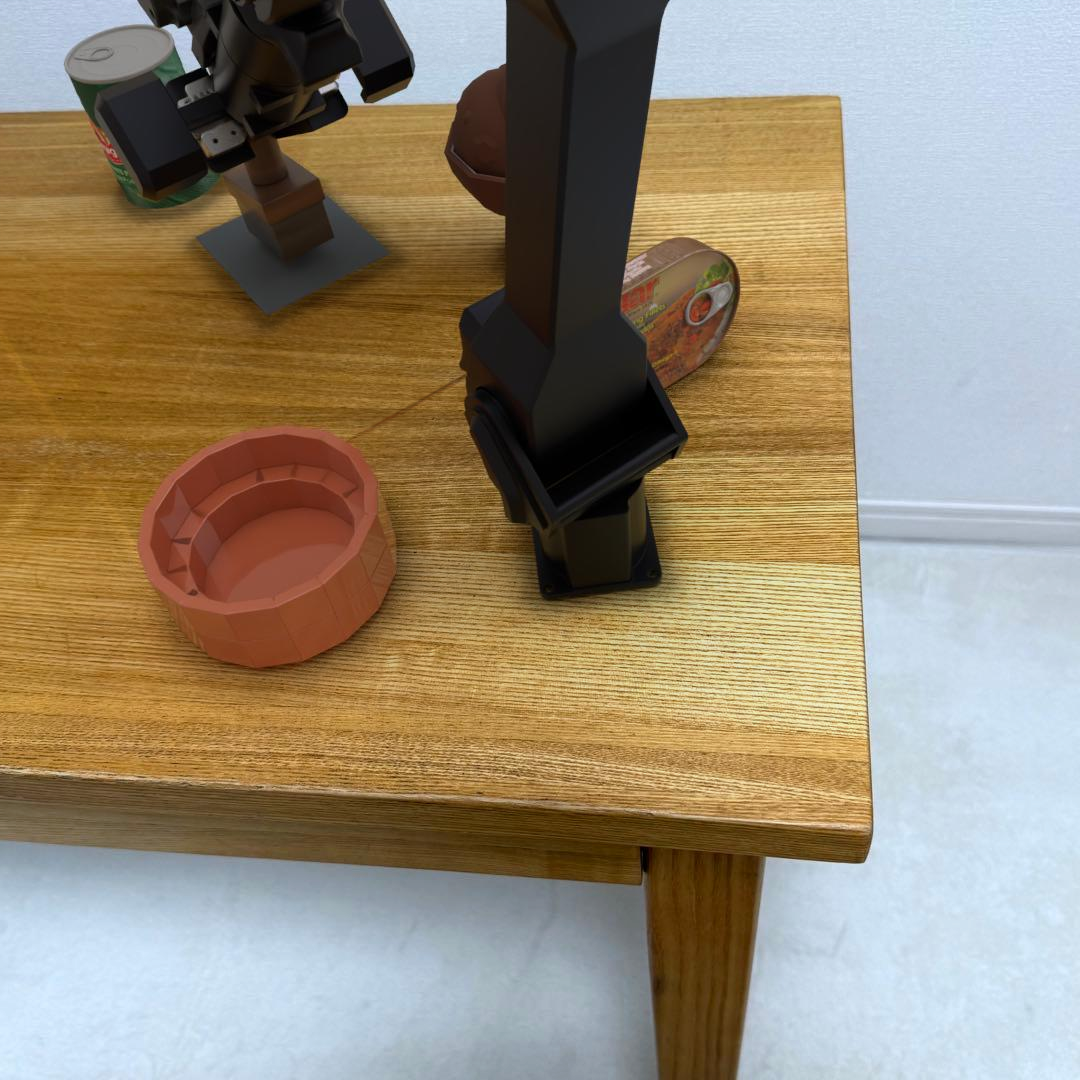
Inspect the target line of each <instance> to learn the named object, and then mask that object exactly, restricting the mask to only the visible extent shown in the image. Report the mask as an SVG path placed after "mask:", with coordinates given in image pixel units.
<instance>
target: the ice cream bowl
mask: <svg viewBox="0 0 1080 1080" xmlns="http://www.w3.org/2000/svg"><path fill="white" fill-rule="evenodd" d="M455 109H456V110H455V111H456V112H455V115H454V119H453V121H452V122H451V125H450V129H449V132H448V137H447V140H446V142H445V146H444V150H443V153H444V156H445V158H446V161H447V163H448V166H449V168H450V170H451V172H452V174H453V175H454V176H455V177H456V179H457V180H458V181H459V183H460V184H461V185H462V187H463V188H464V189H465V190H466V191H467V192H468V194H470V195H471V196H472V197H473V198H474V199H475V200H476V201H477V202H478V203H479V204H480V205H481V206H482V207H483V208H485V210H487V211H490V212H492V213H494V214H495V215H498V216H501V217H505V159H506V62H505V63H503V64H501V65H499V67H497V68H492V69H488V70H486V71H484V72H483V73H481V74H480V75H479V76H477V77H476V78H474V79H473V80H472V81H471V82H470V83H468V85H467V86H466V87H465V88H464V89H463V90H462V93H461V96H460V98H459V100H458V101H457V103H456V106H455Z"/></svg>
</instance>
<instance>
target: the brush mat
mask: <svg viewBox="0 0 1080 1080" xmlns="http://www.w3.org/2000/svg"><path fill="white" fill-rule="evenodd" d="M324 195H325V198H326V199H324V200H322V201H323V204H324V207H325V210H326V213H327V216H328V219H329V222H330V225H331V228H332V231H333V234H334V238H333V239H331V240H329V241H327V242H325V243H323V244H321V245H319V246H317V247H315V248H313V249H311V250H309V251H307V252H305V253H303V254H301V255H299V256H297V257H296V258H294V259H292V260H290V261H288V262H285V261H283V260H282V259H281V258H280V257H279V256H277V255H276V254H275V253H274V252H273V251H272V250H270V249H269V248H268V247H267V246H266V245H264V244H263V243H262V242H261V241H260V240H258V239H257V238H256V237H255V236H254V235H252V234H251V233H250V232H249V231H248V229H247V226H246V224H245V221H244V219H243V216H242V214H241V215H239V216H237V217H235V218H233V219H230V220H229V221H226V222H224V223H222V224H220V225H218V226H216V227H213V228H212V229H209V230H207V231H205V232H203V233H201V234H199V235H197V236H195V239H196V240H197V241H198V242H199V244H201V246H203V247H204V249H205V250H206V251H207V252H208V253H209V254H210V255H211V257H213V259H214V260H215V261H216V262H217V263H218V264H219V265H220V266H221V267H222V268H223V270H224V271H225V272H226V273H227V274H228V275H229V276H230V277H231V278H232V279H233V280H234V282H235V283H236V284H237V285H238V286H239V287H240V288H241V289H242V291H244V293H246V295H247V296H248V297H249V298H250V299H251V300H252V301H253V303H254V304H255V305H256V306H257V307H258V308H259V309H260V310H261V311H262V312H263V313H264V314H265V315H266V316H269V315H271V314H274V313H275V312H277V311H279V310H282V309H283V308H285V307H287V306H289V305H291V304H293V303H295V302H297V301H299V300H301V299H303V298H305V297H308V296H309V295H311V294H313V293H315V292H317V291H320V290H321V289H323V288H326V287H327V286H329V285H331V284H333V283H335V282H337V281H339V280H340V279H343V278H344V277H347V276H349V275H350V274H352V273H354V272H356V271H358V270H361V269H362V268H365V267H366V266H368V265H370V264H373V263H374V262H376V261H378V260H380V259H383V258H384V257H386V256H389V255H390V254H392V252H391V251H390V250H389V249H388V248H387V247H386V246H385V245H383V244H382V243H381V242H380V241H379V240H378V239H377V238H375V237H374V236H373V234H371V233H370V232H369V231H368V230H366V229H365V228H364V227H363V226H362V225H361V224H360V223H358V221H356V220H355V219H354V218H353V217H352V216H351V215H350V214H349V213H348V212H346V211H345V210H344V209H343V208H342V207H341V206H339V205H338V203H336V202H335V201H334V200H333V199H332V198H330V196H328V194H326V193H325V192H324Z"/></svg>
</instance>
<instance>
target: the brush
mask: <svg viewBox="0 0 1080 1080" xmlns="http://www.w3.org/2000/svg"><path fill="white" fill-rule="evenodd" d="M207 71H208V73H209V75H211V74H213V71H212V69H211V67H208V68H207ZM246 139H247V141H248V143H249V144H250V146H251V148H252V150H253V151H254V153H255V155H256V158H254V159H252V160H250V161H247V162H245V163H243V164H241V165H239V166H236V167H234V168H232V169H230V170H228V171H225V172H223V173H221V176H222V178H223V181H224V183H225V186H226V188H227V190H228V193H229V195H230V196H232V197H233V198H234V199H235V201H236V204H237V206H238V209H239V211H240V214H241V215H242V216H243V219H244V221H245V224H246V226H247V229H248V231H249V232H250V233H251V234H252V235H254V236H255V237H256V238H257V239H258V240H260V241H261V242H262V243H263V244H264V245H266V246H267V247H268V248H269V249H270V250H272V251H273V252H274V253H275V254H276V255H277V256H279V257H280V258H281V259H282V260H283V261H285V262H288V261H290V260H292V259H294V258H296V257H297V256H299V255H301V254H303V253H305V252H307V251H309V250H311V249H313V248H315V247H317V246H319V245H321V244H323V243H325V242H327V241H329V240H331V239H333V238H334V234H333V231H332V228H331V225H330V222H329V219H328V216H327V213H326V210H325V207H324V204H323V201H322V200H324V199H326V198H325V195H324V193H325V192H324V189H323V185H322V183H321V180H320V178H319V177H318V176H317V175H315V174H314V173H313V172H311V171H310V170H309V169H307V168H306V167H304V166H303V165H301V164H300V163H299V162H297V161H296V160H295V159H293V158H291V157H290V156H289V155H287V154H286V153H284V152H283V151H282V149H281V146H280V143H279V139H277V137H276V135H275V132H274V133H272V134H270V135H268V136H265V137H263V138H261V139H259V140H256V141H254V142H253V141H252V139H251V137H250V135H249V134H248V132H247V130H246Z"/></svg>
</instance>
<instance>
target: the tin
mask: <svg viewBox="0 0 1080 1080" xmlns="http://www.w3.org/2000/svg"><path fill="white" fill-rule="evenodd" d="M740 298H741V278H740V273H739V269H738V267H737V265H736V263H735V261H734V260H733V259H732V257H730V256H729V255H728V254H727V253H725V252H723V251H721V250H720V249H719V250H718V249H715V248H713V247H711V246H709V245H708V244H706V243H704V242H702V241H700V240H698V239H696V238H692V237H685V236H679V237H671V238H669V239H665V240H662V241H661V242H658V243H657V244H655V245H654V246H651V247H650V248H649V249H647V250H645V251H643V252H641V253H639V254H637V255H636V256H634V257H632V258H631V259H628V260H626V267H625V274H624V281H623V288H622V295H621V310H622V312H623V313H624V314H625V315H626V316H627V317H628V318H629V319H630V321H631V322H632V323H633V324H634V325H635V326H636V327H637V328H638V329H639V331H640V332H641V333H642V334H643V335H644V336H645V337H646V339H647V358H648V360H649V362H650V364H651V365H652V367H653V369H654V371H655V373H656V375H657V377H658V379H659V380H660V382H661V384H662V386H663V388H664V390H666V388H668V387H670V386H671V385H673V384H674V383H677V382H678V381H679V380H682V379H683V378H684V377H686V376H687V375H689V374H691V373H692V372H694V371H695V370H697V369H698V368H699V367H701V366H703V364H704V363H706V361H707V360H709V358H711V356H712V355H713V354H714V353H715V352H716V350H717V349H718V348H719V346H721V344H722V342H723V341H724V339H725V338H726V336H727V334H728V332H729V330H730V329H731V327H732V325H733V322H734V319H735V317H736V313H737V310H738V307H739V303H740Z"/></svg>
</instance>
